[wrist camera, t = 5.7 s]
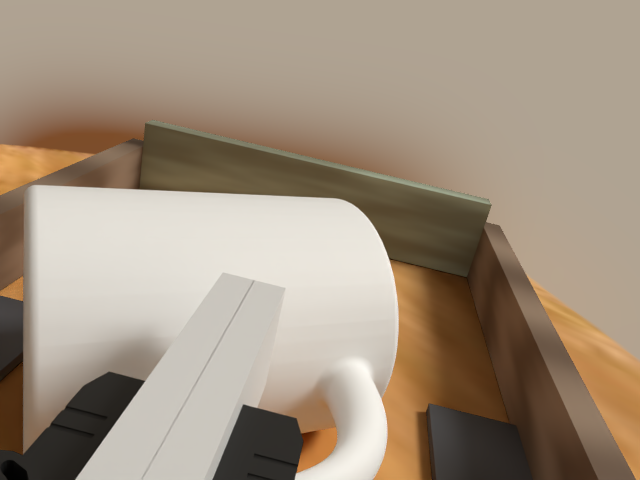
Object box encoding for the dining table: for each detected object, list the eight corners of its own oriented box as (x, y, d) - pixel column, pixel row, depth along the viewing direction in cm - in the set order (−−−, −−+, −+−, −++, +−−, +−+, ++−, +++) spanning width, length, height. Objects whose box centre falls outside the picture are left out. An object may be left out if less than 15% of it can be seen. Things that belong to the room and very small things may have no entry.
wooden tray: (760, 1041, 9) (956, 897, 7) (-615, 644, 10) (-764, 424, 8) (482, 273, 37) (507, 203, 35) (129, 188, 38) (135, 115, 36)
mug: (22, 361, 20) (24, 147, 17) (276, 339, 25) (312, 168, 22) (23, 742, 10) (25, 408, 7) (436, 587, 15) (538, 344, 12)
